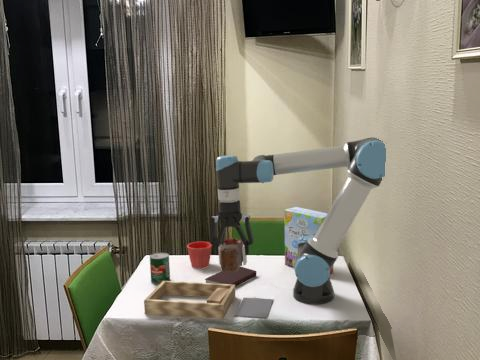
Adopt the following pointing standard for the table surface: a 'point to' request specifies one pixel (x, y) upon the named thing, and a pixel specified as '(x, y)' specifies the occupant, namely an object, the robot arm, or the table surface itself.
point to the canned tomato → (159, 267)
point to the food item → (231, 255)
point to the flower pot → (199, 254)
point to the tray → (188, 309)
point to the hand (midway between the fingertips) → (233, 263)
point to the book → (232, 276)
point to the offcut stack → (217, 295)
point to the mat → (254, 308)
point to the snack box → (300, 230)
